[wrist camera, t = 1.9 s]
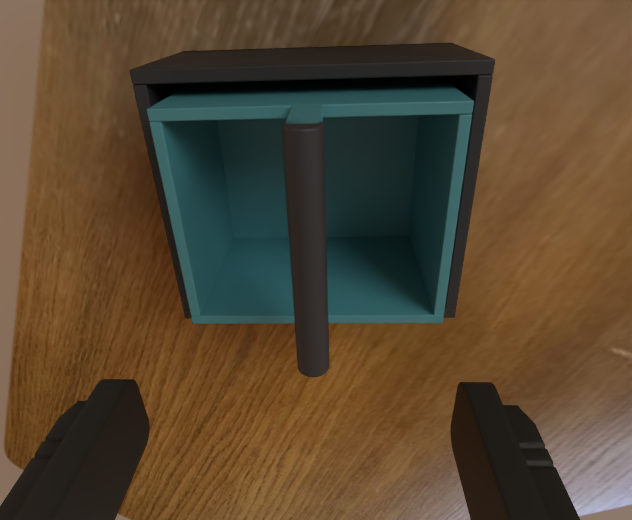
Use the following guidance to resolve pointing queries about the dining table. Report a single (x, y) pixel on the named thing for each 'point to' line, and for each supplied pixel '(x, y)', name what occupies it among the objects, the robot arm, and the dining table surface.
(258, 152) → the teal bin
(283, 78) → the charcoal bin
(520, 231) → the dining table surface
